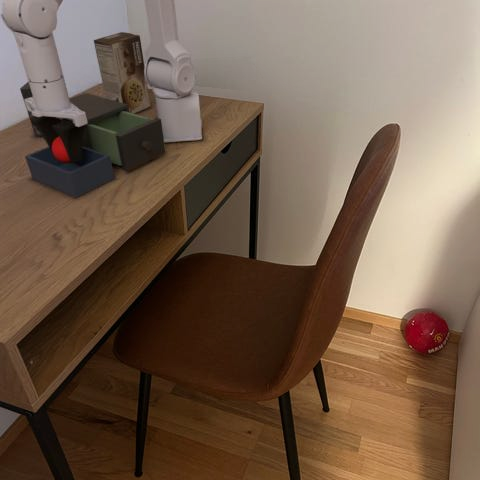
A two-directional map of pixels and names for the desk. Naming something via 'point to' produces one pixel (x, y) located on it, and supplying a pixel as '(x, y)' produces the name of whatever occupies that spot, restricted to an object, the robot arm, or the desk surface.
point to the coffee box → (123, 70)
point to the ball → (60, 151)
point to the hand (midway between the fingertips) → (67, 157)
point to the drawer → (127, 138)
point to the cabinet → (96, 110)
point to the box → (71, 171)
